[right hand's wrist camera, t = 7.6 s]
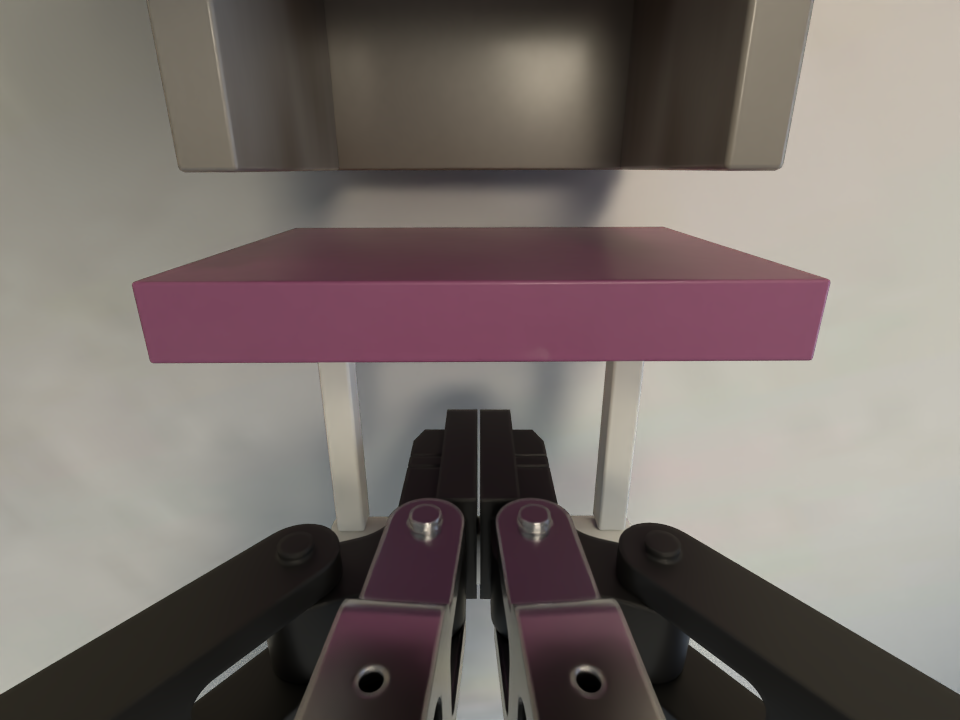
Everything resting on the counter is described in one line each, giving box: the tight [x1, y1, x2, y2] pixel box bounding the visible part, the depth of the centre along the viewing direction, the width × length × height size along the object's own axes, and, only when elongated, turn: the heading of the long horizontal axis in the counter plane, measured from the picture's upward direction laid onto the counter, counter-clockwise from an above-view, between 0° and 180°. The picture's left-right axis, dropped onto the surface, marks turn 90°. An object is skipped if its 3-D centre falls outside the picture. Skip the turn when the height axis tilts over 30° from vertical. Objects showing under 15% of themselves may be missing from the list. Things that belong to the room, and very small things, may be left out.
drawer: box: [132, 0, 830, 585], centre depth 10 cm, size 18×10×7 cm, turn 0°
